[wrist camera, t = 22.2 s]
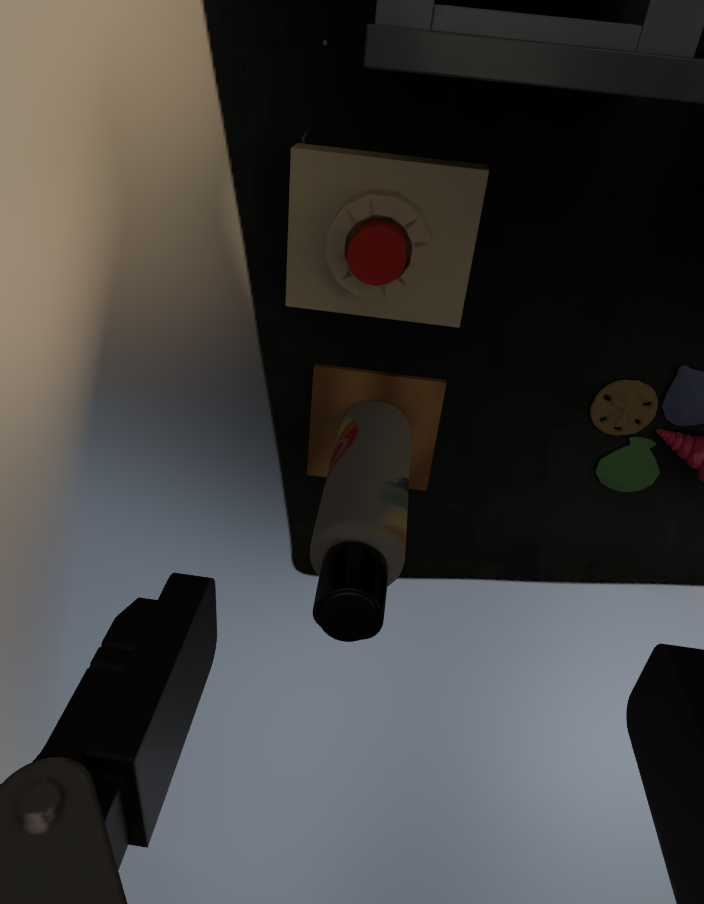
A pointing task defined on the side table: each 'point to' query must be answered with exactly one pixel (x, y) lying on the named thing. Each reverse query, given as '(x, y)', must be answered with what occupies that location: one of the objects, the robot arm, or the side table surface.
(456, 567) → the side table surface
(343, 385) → the coaster
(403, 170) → the control box
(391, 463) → the spray bottle
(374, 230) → the button
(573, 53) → the dark grey square holder
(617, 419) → the toy pieces
